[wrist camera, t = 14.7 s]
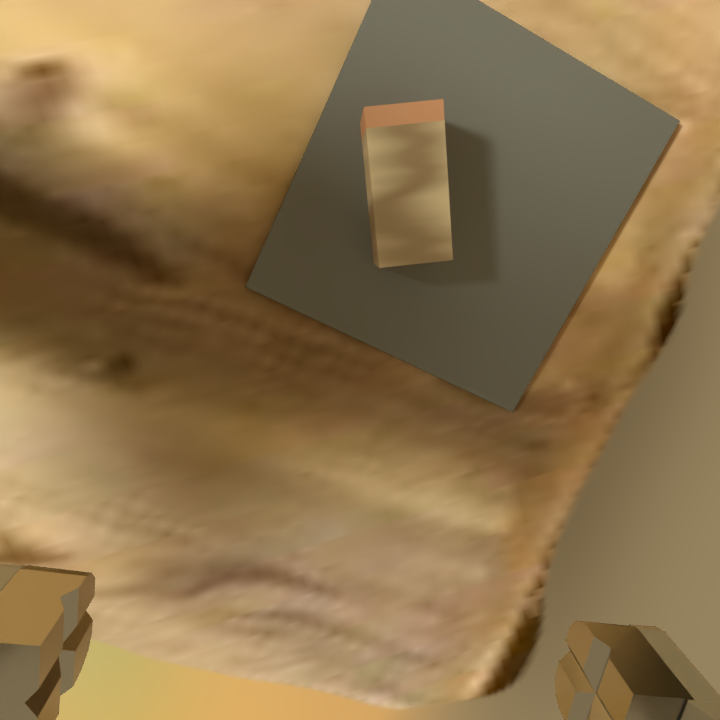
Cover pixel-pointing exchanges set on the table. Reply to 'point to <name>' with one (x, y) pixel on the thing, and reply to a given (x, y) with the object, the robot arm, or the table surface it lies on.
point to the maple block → (407, 182)
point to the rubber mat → (465, 194)
